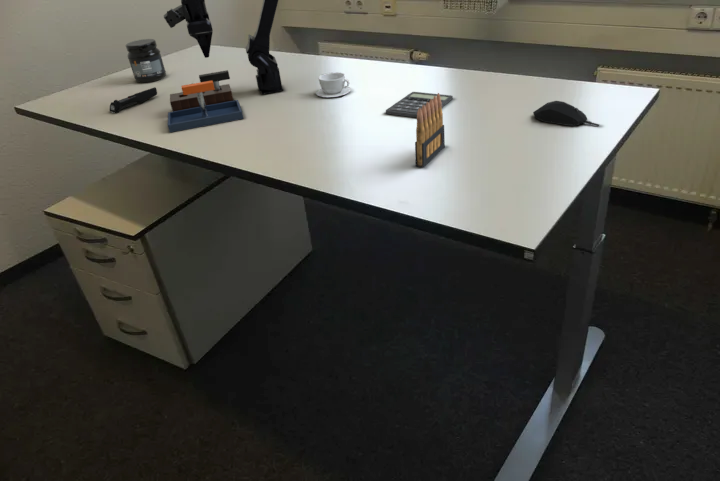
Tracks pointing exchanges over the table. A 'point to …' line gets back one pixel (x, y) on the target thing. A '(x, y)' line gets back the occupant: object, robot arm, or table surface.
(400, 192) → the table surface
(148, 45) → the supplement container
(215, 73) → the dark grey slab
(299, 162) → the table surface
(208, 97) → the rack
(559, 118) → the gaming mouse
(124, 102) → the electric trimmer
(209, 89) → the t handle
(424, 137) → the ammunition clip
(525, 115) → the table surface
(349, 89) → the teacup
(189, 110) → the tray
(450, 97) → the calculator
